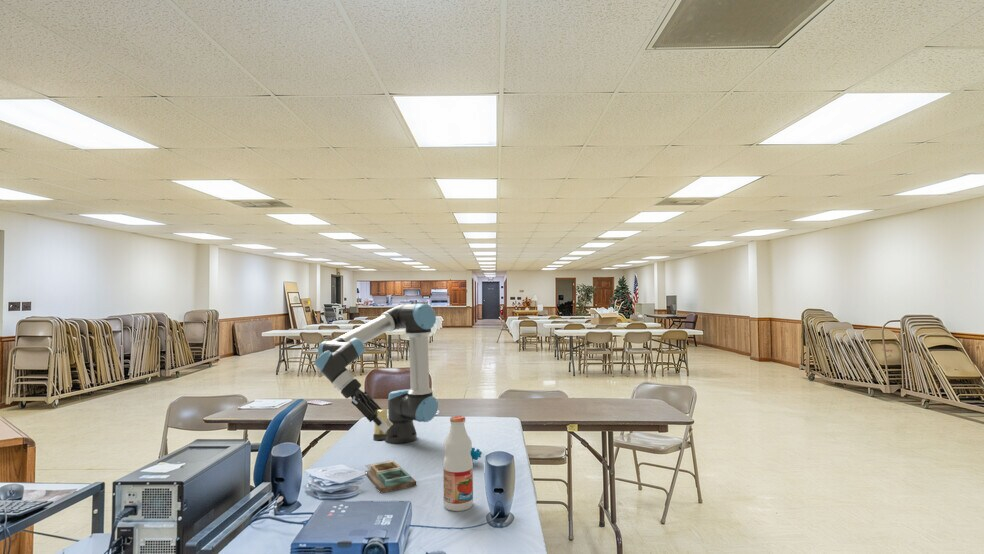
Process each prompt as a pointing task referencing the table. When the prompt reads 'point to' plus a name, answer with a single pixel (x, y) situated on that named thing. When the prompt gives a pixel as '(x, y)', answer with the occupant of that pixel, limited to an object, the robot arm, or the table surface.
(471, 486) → the fruit juice
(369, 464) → the mat
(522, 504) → the table surface
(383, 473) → the brown wooden flat tray
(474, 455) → the gear
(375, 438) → the gold metal cylinder
